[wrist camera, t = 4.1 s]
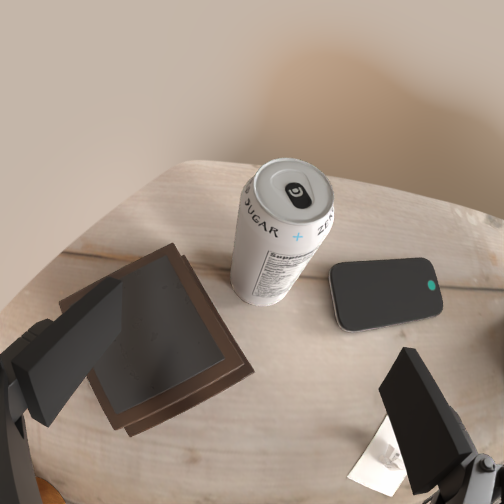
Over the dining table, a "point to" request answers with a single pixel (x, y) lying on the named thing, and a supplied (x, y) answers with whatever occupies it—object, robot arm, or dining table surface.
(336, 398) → the dining table surface
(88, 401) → the dining table surface
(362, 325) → the smartphone
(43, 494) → the disposable coffee cup
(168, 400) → the stand
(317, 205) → the energy drink can
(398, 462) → the adhesive hook
